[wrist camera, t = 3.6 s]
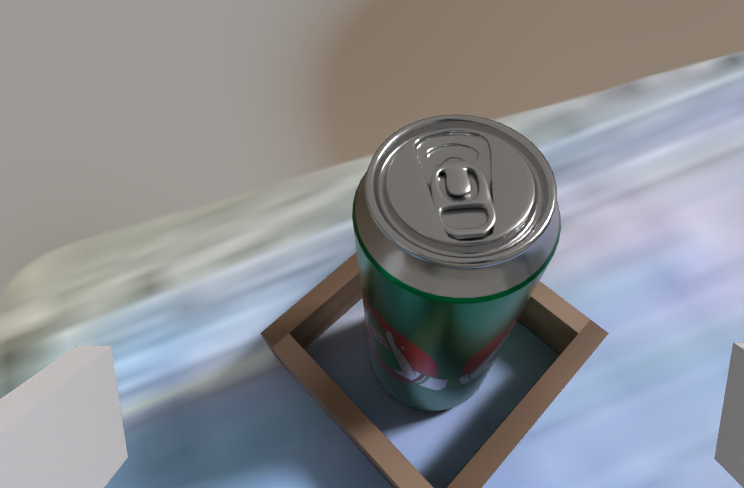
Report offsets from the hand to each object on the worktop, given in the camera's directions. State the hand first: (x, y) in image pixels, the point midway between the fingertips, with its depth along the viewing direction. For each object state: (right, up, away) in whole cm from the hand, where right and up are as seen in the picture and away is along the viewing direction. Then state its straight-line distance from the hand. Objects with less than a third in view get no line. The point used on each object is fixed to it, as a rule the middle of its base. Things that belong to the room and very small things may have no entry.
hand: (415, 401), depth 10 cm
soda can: (+2, -2, +11) cm, 11 cm away
